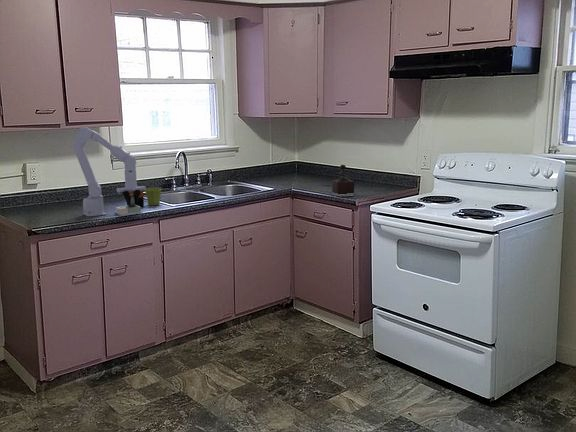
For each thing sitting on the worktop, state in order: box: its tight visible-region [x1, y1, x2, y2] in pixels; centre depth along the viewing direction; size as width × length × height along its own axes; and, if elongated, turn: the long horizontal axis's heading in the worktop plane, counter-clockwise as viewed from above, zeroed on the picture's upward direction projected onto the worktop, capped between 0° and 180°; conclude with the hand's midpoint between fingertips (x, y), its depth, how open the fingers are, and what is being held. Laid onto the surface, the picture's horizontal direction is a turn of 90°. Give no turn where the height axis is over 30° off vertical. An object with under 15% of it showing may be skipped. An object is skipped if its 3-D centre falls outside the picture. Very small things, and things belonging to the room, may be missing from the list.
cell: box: [129, 194, 135, 208], centre depth 301 cm, size 3×3×8 cm
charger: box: [114, 205, 143, 216], centre depth 301 cm, size 11×8×3 cm
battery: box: [129, 190, 145, 209], centre depth 315 cm, size 4×7×10 cm, turn 119°
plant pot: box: [144, 187, 163, 206], centre depth 324 cm, size 9×9×9 cm
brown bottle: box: [331, 164, 355, 194], centre depth 355 cm, size 16×11×18 cm
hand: (132, 205), depth 302 cm, fingers closed on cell, 3 cm apart
